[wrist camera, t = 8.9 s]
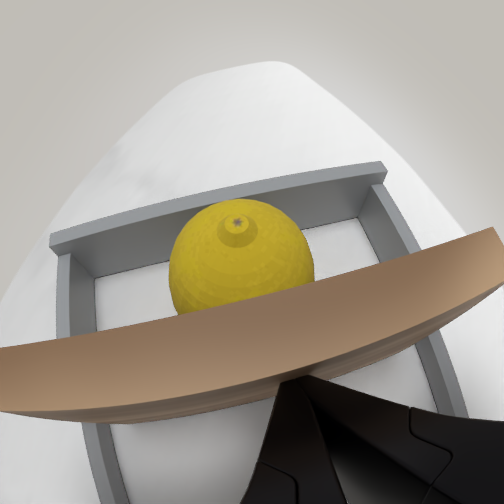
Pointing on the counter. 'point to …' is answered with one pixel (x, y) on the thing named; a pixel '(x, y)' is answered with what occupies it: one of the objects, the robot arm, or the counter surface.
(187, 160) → the counter surface
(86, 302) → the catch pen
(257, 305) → the board
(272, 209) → the lemon
